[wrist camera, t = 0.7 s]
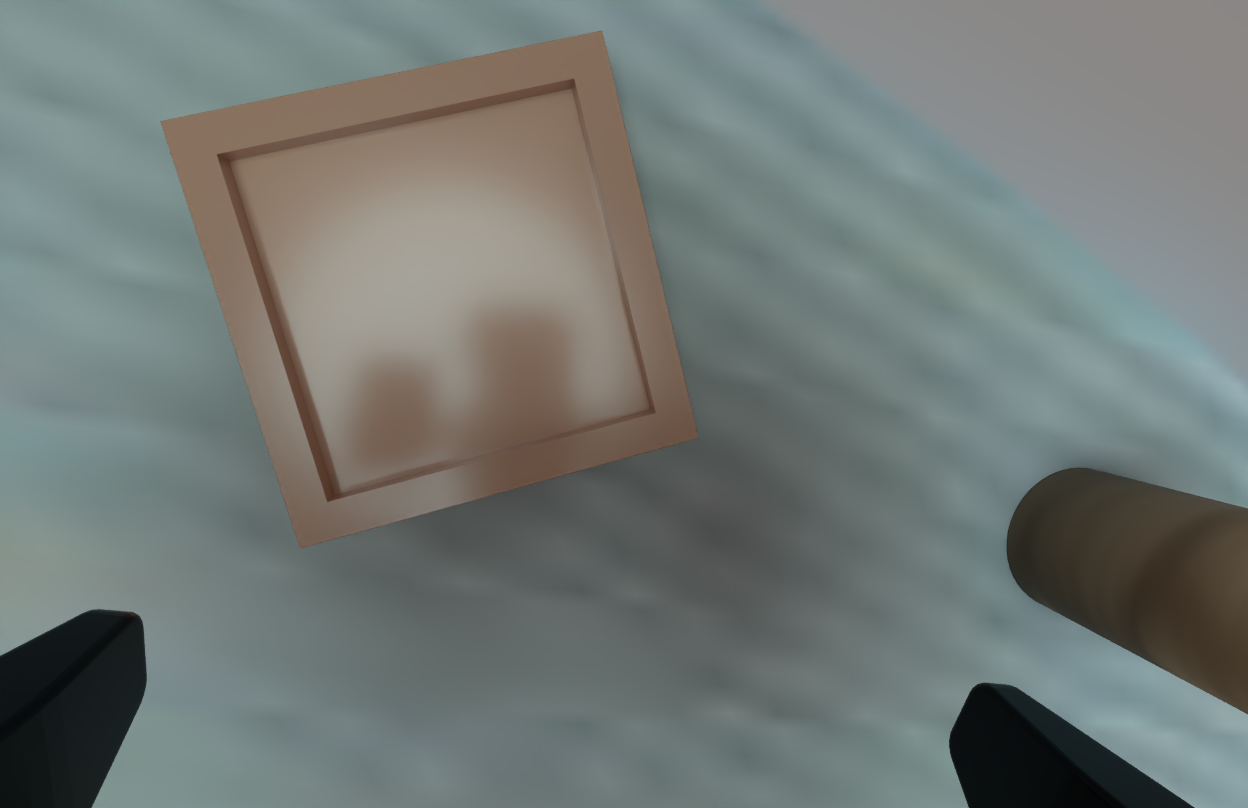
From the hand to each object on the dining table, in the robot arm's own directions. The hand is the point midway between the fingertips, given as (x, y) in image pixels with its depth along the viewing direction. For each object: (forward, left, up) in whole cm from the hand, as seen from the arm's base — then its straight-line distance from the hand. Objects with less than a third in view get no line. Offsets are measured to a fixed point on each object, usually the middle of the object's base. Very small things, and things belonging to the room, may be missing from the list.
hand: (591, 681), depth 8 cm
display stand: (+5, +1, -14) cm, 15 cm away
